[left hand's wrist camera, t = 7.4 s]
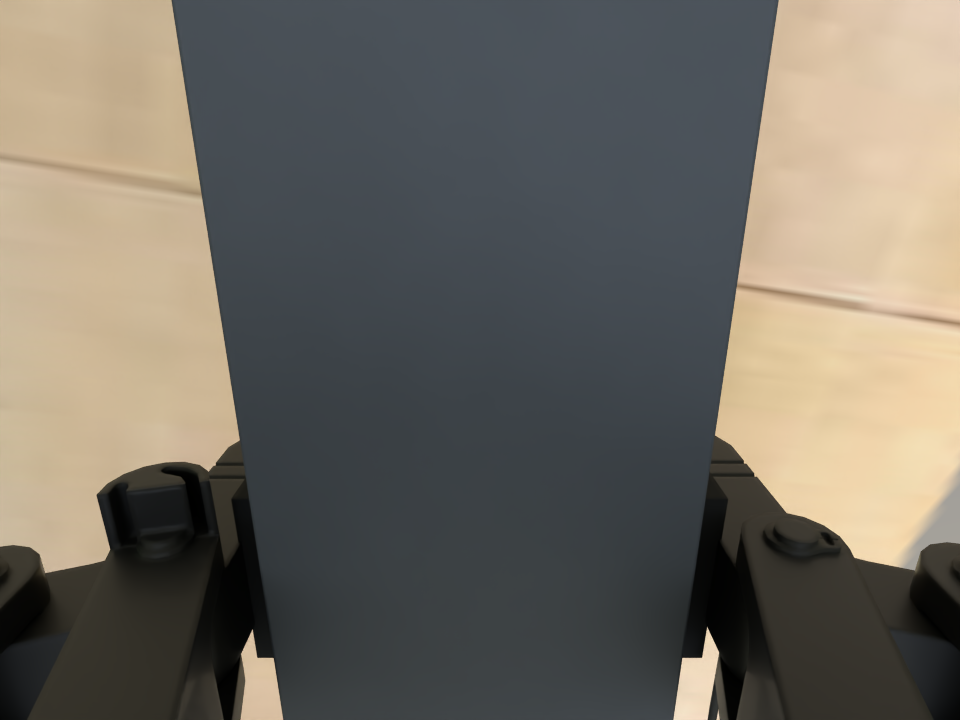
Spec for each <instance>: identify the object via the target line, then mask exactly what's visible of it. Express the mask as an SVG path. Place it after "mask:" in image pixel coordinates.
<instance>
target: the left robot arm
mask: <svg viewBox="0 0 960 720" xmlns="http://www.w3.org/2000/svg"><path fill="white" fill-rule="evenodd" d="M97 499H98V503H99V506H100V510H101V514H102V518H103V522H104V526H105V530H106V534H107V538H108V542H109V545H110V549H111V550H110V552H109V554H108V556H107V558H106V560H105V561H102V562H98V563H94V564H90V565H85V566H80V567H75V568H70V569H65V570H60V571H55V572H50V573H45V571H44V568H43V565H42V561H41V558H40V555H39V554H38V553H37V552H36V551H34V550H33V549H32V548H30V547H23V546H15V545H11V546H3V547H0V720H240V719H241V711H242V703H243V695H244V686H245V675H244V668H243V663H242V657H241V653H242V651H243V648H244V646H245V644H246V642H247V640H248V638H249V635H250V633H251V631H252V629H253V634H254V640H255V646H256V652H257V658H274V656H273V649H272V643H271V637H270V630H269V624H268V617H267V611H266V604H265V598H264V592H263V585H262V579H261V572H260V566H259V559H258V553H257V546H256V540H255V534H254V527H253V521H252V514H251V508H250V501H249V495H248V489H247V482H246V476H245V469H244V463H243V456H242V450H241V444H240V441H238V442H237V443H235V444H233V445H232V446H230V447H228V449H227V450H226V451H225V452H224V454H223V455H222V456H221V457H220V459H219V460H218V461H217V462H216V466H213V467H212V468H211V470H210V471H209V472H208V471H207V470H206V469H204V468H203V467H202V466H200V465H197V464H192V463H187V462H167V463H161V464H156V465H151V466H146V467H142V468H140V469H137V470H134V471H131V472H129V473H126V474H123V475H122V476H120V477H118V478H117V479H115V480H113V481H111V482H110V483H108V484H107V485H106V486H105V487H104V488H103V489H102V490H101V491H100V492H99V493H98V494H97ZM707 627H708V629H709V631H710V634H711V636H712V638H713V640H714V642H715V644H716V646H717V649H718V651H719V657H718V663H717V668H716V674H715V679H714V685H713V691H712V696H711V702H710V708H709V715H708V720H716V719H717V714H718V709H719V717H720V720H960V544H956V543H947V542H946V543H939V544H931V545H929V546H928V547H926V548H925V549H924V550H922V551H921V553H920V556H919V559H918V563H917V566H916V569H915V571H914V570H909V569H904V568H899V567H894V566H889V565H884V564H879V563H874V562H868V561H864V560H860V559H857V558H854V557H853V555H852V553H851V550H850V549H849V547H848V546H847V545H846V544H845V542H844V541H843V540H842V539H841V537H840V536H838V535H837V534H835V533H834V532H832V531H831V530H830V529H828V528H827V527H825V526H824V525H821V524H819V523H817V522H814V521H812V520H809V519H807V518H805V517H801V516H796V515H792V514H788V513H786V512H785V511H784V509H783V508H782V507H781V506H780V504H779V503H778V502H777V501H776V500H775V498H774V497H773V496H772V495H771V493H770V492H769V491H768V490H767V489H766V487H765V486H764V485H763V484H762V482H761V481H760V480H759V479H758V478H757V477H754V473H753V471H752V470H751V469H750V468H749V467H748V465H747V464H744V460H743V459H742V458H741V457H740V456H739V454H738V453H737V452H736V451H735V449H734V448H733V447H732V446H731V445H730V444H728V443H726V442H725V441H723V440H721V439H720V438H718V437H717V436H715V438H714V444H713V451H712V458H711V465H710V472H709V479H708V485H707V492H706V499H705V506H704V513H703V520H702V526H701V533H700V540H699V547H698V554H697V561H696V567H695V574H694V581H693V588H692V595H691V602H690V608H689V615H688V622H687V629H686V636H685V643H684V649H683V656H682V658H702V655H703V649H704V643H705V636H706V630H707Z"/></svg>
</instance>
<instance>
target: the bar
mask: <svg viewBox="0 0 960 720" xmlns="http://www.w3.org/2000/svg"><path fill="white" fill-rule="evenodd" d="M172 6H173V12H174V19H175V25H176V32H177V38H178V45H179V51H180V57H181V64H182V70H183V77H184V83H185V90H186V96H187V102H188V109H189V115H190V122H191V128H192V135H193V141H194V147H195V154H196V160H197V167H198V173H199V180H200V186H201V193H202V199H203V205H204V212H205V218H206V225H207V231H208V238H209V244H210V250H211V257H212V263H213V270H214V276H215V283H216V289H217V295H218V302H219V308H220V315H221V321H222V328H223V334H224V341H225V347H226V353H227V360H228V366H229V373H230V379H231V386H232V392H233V398H234V405H235V411H236V418H237V424H238V431H239V437H240V444H241V450H242V456H243V463H244V469H245V476H246V482H247V489H248V495H249V501H250V508H251V514H252V521H253V527H254V534H255V540H256V546H257V553H258V559H259V566H260V572H261V579H262V585H263V592H264V598H265V604H266V611H267V617H268V624H269V630H270V637H271V643H272V649H273V656H274V662H275V669H276V675H277V682H278V688H279V694H280V701H281V707H282V714H283V720H673V718H674V711H675V704H676V697H677V690H678V684H679V677H680V670H681V663H682V656H683V649H684V643H685V636H686V629H687V622H688V615H689V608H690V602H691V595H692V588H693V581H694V574H695V567H696V561H697V554H698V547H699V540H700V533H701V526H702V520H703V513H704V506H705V499H706V492H707V485H708V479H709V472H710V465H711V458H712V451H713V444H714V438H715V431H716V424H717V417H718V410H719V403H720V397H721V390H722V383H723V376H724V369H725V362H726V356H727V349H728V342H729V335H730V328H731V321H732V315H733V308H734V301H735V294H736V287H737V280H738V274H739V267H740V260H741V253H742V246H743V239H744V233H745V226H746V219H747V212H748V205H749V198H750V192H751V185H752V178H753V171H754V164H755V157H756V151H757V144H758V137H759V130H760V123H761V116H762V110H763V103H764V96H765V89H766V82H767V75H768V69H769V62H770V55H771V48H772V41H773V34H774V27H775V21H776V14H777V7H778V0H172Z"/></svg>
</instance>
